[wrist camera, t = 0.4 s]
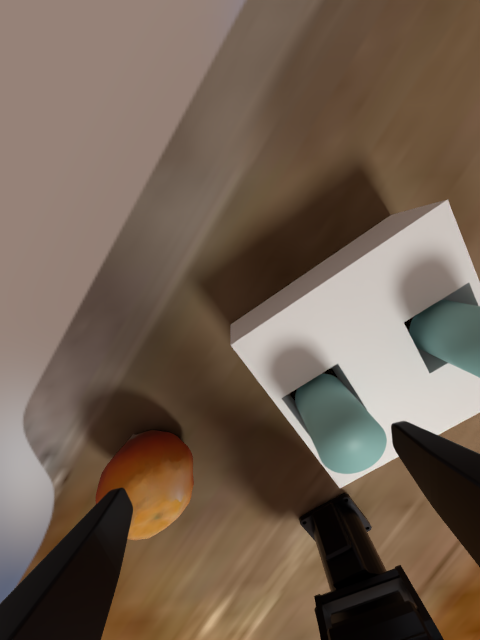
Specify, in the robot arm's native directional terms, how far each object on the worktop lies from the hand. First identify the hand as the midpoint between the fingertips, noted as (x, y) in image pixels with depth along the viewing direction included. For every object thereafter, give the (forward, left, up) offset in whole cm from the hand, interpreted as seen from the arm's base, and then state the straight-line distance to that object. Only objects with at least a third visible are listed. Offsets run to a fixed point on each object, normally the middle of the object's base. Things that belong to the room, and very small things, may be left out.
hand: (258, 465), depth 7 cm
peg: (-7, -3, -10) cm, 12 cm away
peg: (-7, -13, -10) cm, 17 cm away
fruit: (-6, +14, -14) cm, 21 cm away
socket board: (-7, -8, -14) cm, 17 cm away
